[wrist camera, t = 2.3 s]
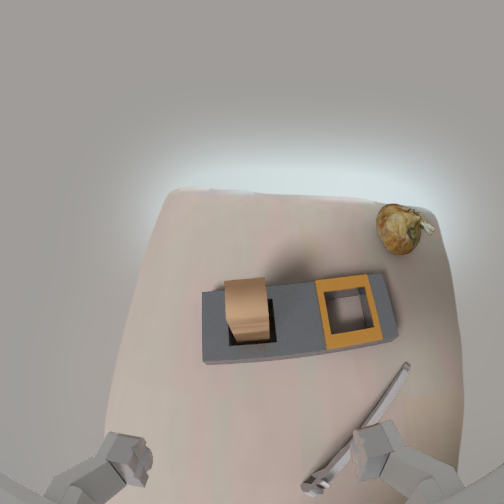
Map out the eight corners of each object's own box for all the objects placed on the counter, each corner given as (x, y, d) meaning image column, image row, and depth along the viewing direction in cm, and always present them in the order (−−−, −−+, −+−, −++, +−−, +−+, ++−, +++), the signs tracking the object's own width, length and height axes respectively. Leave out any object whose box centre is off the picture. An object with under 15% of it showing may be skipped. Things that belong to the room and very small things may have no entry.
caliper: (305, 489, 24) (312, 503, 18) (299, 484, 24) (305, 498, 19) (409, 367, 31) (432, 357, 25) (403, 362, 31) (425, 351, 26)
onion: (401, 218, 43) (417, 185, 36) (420, 258, 39) (442, 227, 32) (363, 224, 43) (376, 189, 36) (381, 266, 39) (400, 235, 32)
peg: (269, 341, 34) (268, 315, 26) (237, 344, 34) (225, 319, 26) (267, 312, 36) (264, 277, 28) (236, 314, 36) (224, 280, 28)
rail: (391, 341, 33) (399, 335, 30) (207, 364, 33) (202, 360, 31) (376, 281, 37) (382, 271, 35) (206, 299, 38) (201, 291, 36)
